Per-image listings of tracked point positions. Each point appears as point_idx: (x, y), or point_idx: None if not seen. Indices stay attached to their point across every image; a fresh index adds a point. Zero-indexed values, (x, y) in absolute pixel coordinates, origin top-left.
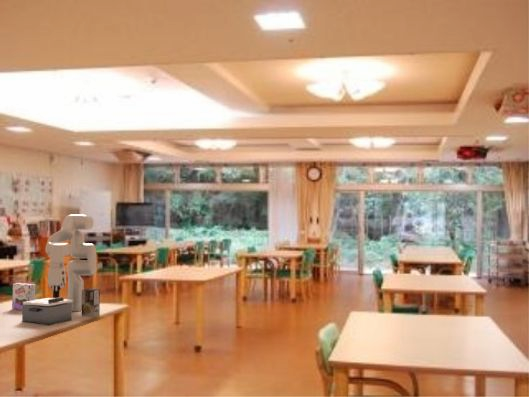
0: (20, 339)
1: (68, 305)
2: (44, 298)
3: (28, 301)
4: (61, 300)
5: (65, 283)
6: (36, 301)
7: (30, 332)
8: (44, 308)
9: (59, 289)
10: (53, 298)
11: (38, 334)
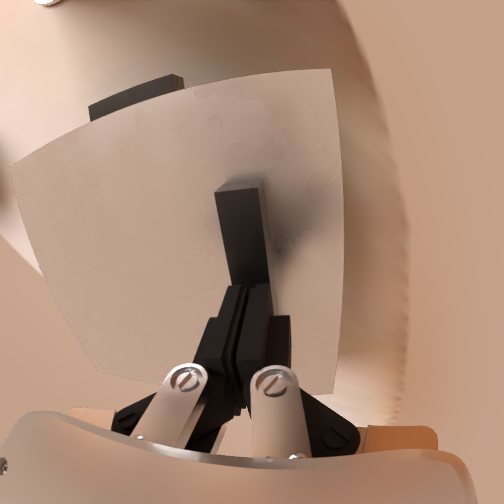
0: (383, 424)
1: None
2: (22, 203)
3: (92, 351)
4: (266, 214)
5: (463, 479)
6: (123, 342)
7: (351, 389)
8: None
9: (314, 409)
10: (55, 155)
11: (394, 388)
